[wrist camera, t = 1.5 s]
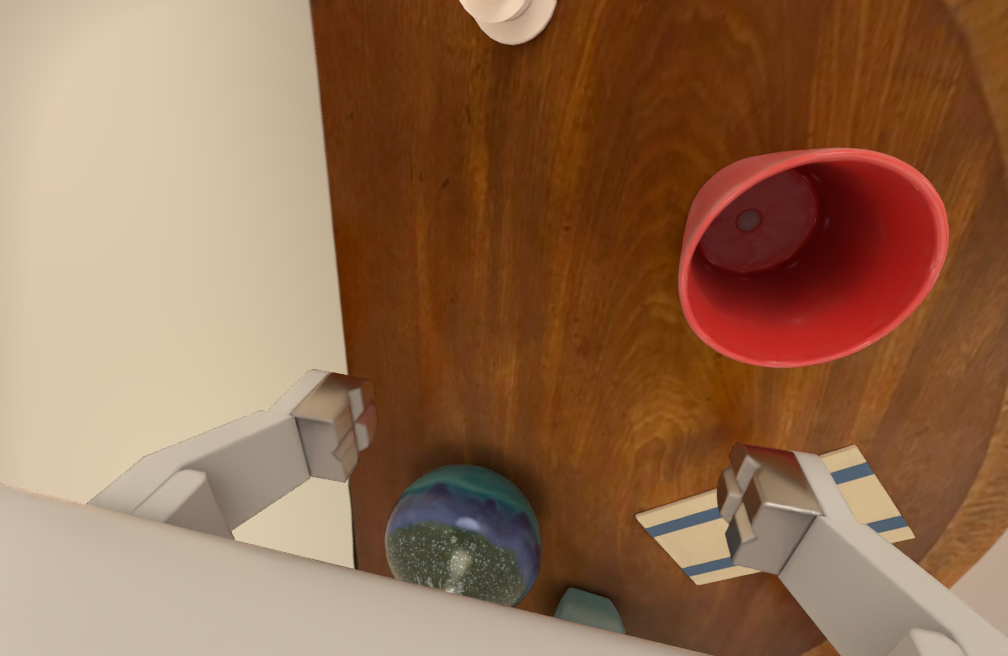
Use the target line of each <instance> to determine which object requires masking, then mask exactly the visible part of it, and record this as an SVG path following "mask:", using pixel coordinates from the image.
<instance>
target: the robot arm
mask: <svg viewBox="0 0 1008 656" xmlns="http://www.w3.org/2000/svg"><path fill="white" fill-rule="evenodd" d="M375 394H376V391H375V385H374V382H373V381H371V380H370V379H364V378H359V377H354V376H349V375H344V374H338V373H334V372H333V373H331V372H326V371H321V370H316V369H313V370H310V371H307V372H306V373H305V374H304V375H303V376H302V377H301V378H300V379H299V380H298V381H297V382H296V383H295V384H294V385H293V386H292V387H291V388H290V389H289V390H288V391H287V392H286V393H285V394H284V395H283V396H282V397H281V398H279V399H278V400H277V402H275V403H274V404H273V405H272V406H271V407H270V408H269V409H268V410H267V411H264V410H259V411H257V412H254V413H252V414H249V415H247V416H244V417H242V418H239V419H237V420H234V421H232V422H229V423H227V424H224V425H222V426H219V427H217V428H214V429H212V430H209V431H207V432H204V433H202V434H199V435H197V436H194V437H192V438H189V439H187V440H184V441H182V442H179V443H177V444H174V445H172V446H169V447H167V448H164V449H162V450H159V451H157V452H154V453H152V454H149V455H147V456H144V457H143V458H141V459H140V460H139V461H138V462H137V463H135V464H134V465H133V466H132V467H130V468H129V469H128V470H127V471H125V472H124V473H123V474H122V475H121V476H119V477H118V478H117V479H116V480H114V481H113V482H112V483H111V484H110V485H108V486H107V487H106V488H105V489H104V490H102V491H101V492H100V493H99V494H97V495H96V496H95V497H94V498H93V499H91V500H90V501H89V502H88V503H87V504H83V503H79V502H75V501H71V500H67V499H63V498H58V497H54V496H50V495H46V494H42V493H38V492H33V491H29V490H25V489H21V488H17V487H13V486H9V485H5V484H1V483H0V656H712V655H708V654H704V653H699V652H695V651H691V650H687V649H683V648H679V647H675V646H670V645H666V644H662V643H658V642H654V641H650V640H646V639H641V638H637V637H633V636H629V635H625V634H621V633H616V632H612V631H608V630H604V629H600V628H596V627H592V626H587V625H583V624H579V623H575V622H571V621H567V620H562V619H558V618H554V617H550V616H546V615H542V614H538V613H533V612H529V611H525V610H521V609H517V608H513V607H509V606H505V605H500V604H496V603H492V602H488V601H484V600H480V599H476V598H471V597H467V596H463V595H459V594H455V593H451V592H447V591H443V590H438V589H434V588H430V587H426V586H422V585H418V584H414V583H410V582H405V581H401V580H397V579H393V578H389V577H385V576H381V575H377V574H372V573H368V572H364V571H360V570H356V569H352V568H348V567H344V566H339V565H335V564H331V563H327V562H323V561H319V560H315V559H310V558H306V557H301V556H298V555H294V554H289V553H286V552H281V551H277V550H273V549H269V548H265V547H261V546H256V545H253V544H248V543H244V542H240V541H236V540H235V539H234V536H233V534H232V532H231V531H232V530H234V529H235V528H236V527H238V526H239V525H241V524H242V523H244V522H246V521H247V520H249V519H250V518H252V517H253V516H254V515H256V514H258V513H259V512H261V511H262V510H263V509H265V508H267V507H268V506H270V505H271V504H273V503H274V502H275V501H277V500H278V499H280V498H282V497H283V496H285V495H286V494H288V493H289V492H291V491H292V490H294V489H295V488H297V487H298V486H300V485H301V484H302V483H304V482H306V481H307V480H309V479H310V476H311V477H317V478H322V479H328V480H333V481H339V482H344V483H345V482H346V480H347V479H348V477H349V476H350V474H351V473H352V471H353V470H354V468H355V467H356V465H357V464H358V462H359V454H358V452H359V451H361V450H363V449H365V448H367V447H368V446H369V445H370V443H371V442H372V440H373V438H374V436H375V433H376V430H377V427H378V420H379V413H378V408H377V406H376V405H375V404H374V403H373V402H372V399H373V397H374V396H375ZM729 458H730V461H731V466H729V467H727V468H725V469H724V470H722V472H721V475H720V477H719V480H718V486H717V505H718V509H719V513H720V516H721V517H722V518H723V519H724V520H725V521H726V522H727V523H728V524H729V526H728V528H727V530H726V532H725V537H726V541H727V545H728V549H729V552H730V556H731V560H732V564H734V565H738V566H742V567H746V568H751V569H755V570H759V571H763V572H768V573H772V574H776V575H779V577H778V578H779V579H780V580H781V581H782V583H783V584H784V585H785V586H786V588H787V589H788V590H789V591H790V593H791V594H792V595H793V596H794V598H795V599H796V600H797V601H798V603H799V604H800V605H801V606H802V608H803V609H804V610H805V611H806V613H807V614H808V615H809V616H810V618H811V619H812V620H813V621H814V623H815V624H816V625H817V626H818V628H819V629H820V630H821V632H822V633H823V634H824V635H825V637H826V638H827V639H828V640H829V642H830V643H831V644H832V645H833V647H834V648H835V649H836V650H837V652H838V653H839V654H840V655H841V656H1008V636H1006V635H1005V634H1004V633H1003V632H1001V631H1000V630H999V629H998V628H996V627H995V626H994V625H993V624H991V623H990V622H989V621H988V620H986V619H985V618H984V617H983V616H981V615H980V614H979V613H977V612H976V611H975V610H974V609H972V608H971V607H970V606H969V605H967V604H966V603H965V602H964V601H962V600H961V599H960V598H958V597H957V596H956V595H955V594H954V593H952V592H951V591H950V590H949V589H947V588H946V587H945V586H944V585H942V584H941V583H940V582H939V581H937V580H936V579H935V578H933V577H932V576H931V575H930V574H928V573H927V572H926V571H925V570H923V569H922V568H921V567H920V566H918V565H917V564H916V563H915V562H913V561H912V560H911V559H910V558H908V557H907V556H906V555H905V554H903V553H902V552H901V551H900V550H898V549H897V548H896V547H894V546H893V545H892V544H891V543H889V542H888V541H887V540H886V539H884V538H883V537H882V536H881V535H879V534H878V533H877V532H876V531H874V530H873V529H872V528H871V527H869V526H868V525H866V524H861V523H858V522H857V520H856V518H855V516H854V515H853V513H852V511H851V509H850V508H849V506H848V504H847V502H846V500H845V499H844V497H843V495H842V493H841V492H840V490H839V488H838V486H837V485H836V483H835V481H834V479H833V478H832V476H831V474H830V472H829V470H828V469H827V467H826V465H825V463H824V462H823V460H822V459H821V458H820V457H819V456H818V455H816V454H811V453H804V452H797V451H791V450H789V451H787V450H782V449H776V448H769V447H763V446H757V445H751V444H745V443H739V442H737V443H736V444H735V445H734V446H733V447H732V449H731V451H730V453H729Z"/></svg>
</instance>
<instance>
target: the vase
mask: <svg viewBox="0 0 1008 656" xmlns="http://www.w3.org/2000/svg"><path fill="white" fill-rule="evenodd" d="M384 545H385V553H386V558H387V562H388V565H389V567H390V570H391V572H392V574H393V576H394V578H395V579H397V580H401V581H405V582H410V583H414V584H418V585H422V586H426V587H430V588H434V589H438V590H443V591H447V592H451V593H455V594H459V595H463V596H467V597H471V598H476V599H480V600H484V601H488V602H492V603H496V604H500V605H505V606H509V607H513V608H514V607H515V606H516V605H517V604H518V603H520V602H521V601H522V600H523V599H524V598H525V596H526V595H527V594H528V592H529V591H530V590H531V588H532V586H533V585H534V582H535V580H536V577H537V575H538V572H539V569H540V565H541V558H542V537H541V530H540V525H539V522H538V519H537V516H536V513H535V511H534V509H533V507H532V505H531V503H530V502H529V500H528V498H527V497H526V495H525V494H524V493H523V492H522V491H521V489H520V488H519V487H518V486H516V485H515V484H514V483H513V482H512V481H511V480H509V479H508V478H506V477H505V476H503V475H502V474H500V473H498V472H496V471H493V470H491V469H489V468H485V467H482V466H478V465H473V464H451V465H446V466H441V467H439V468H436V469H433V470H431V471H429V472H427V473H425V474H424V475H422V476H420V477H419V478H418V479H416V480H415V481H414V482H413V483H412V484H410V485H409V486H408V487H407V489H406V490H405V491H404V492H403V493H402V494H401V496H400V497H399V499H398V500H397V502H396V503H395V505H394V507H393V508H392V511H391V513H390V515H389V518H388V521H387V525H386V529H385V544H384Z"/></svg>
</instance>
